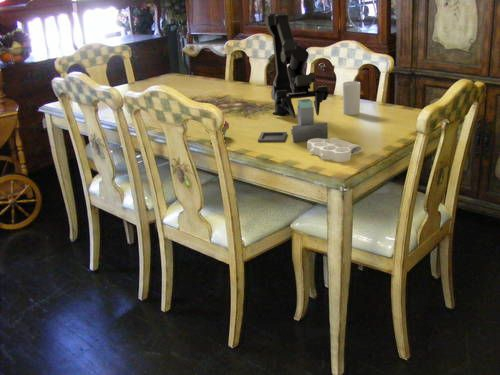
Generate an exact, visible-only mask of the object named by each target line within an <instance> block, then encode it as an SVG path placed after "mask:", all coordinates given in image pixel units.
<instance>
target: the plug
mask: <svg viewBox="0 0 500 375" xmlns="http://www.w3.org/2000/svg"><path fill="white" fill-rule="evenodd" d="M297 104H298V105H297V125H306V124H315V115H314V113H315V112H314V110H315V106H314V101H313V100H312V99H310V98H306V99H305V98H304V99H298V100H297Z"/></svg>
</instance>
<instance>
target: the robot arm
mask: <svg viewBox="0 0 500 375" xmlns="http://www.w3.org/2000/svg"><path fill="white" fill-rule="evenodd" d="M264 19H265V26H266V27H267V31H268V33H269V34H270V35H271V37H272V42H273V43H272V44H273V45H272V46H273V54H274V63H275V73H276V75H275V76H274V79H273V82H272V84H273V85H272V86H271V87H272V88H271V91H270V96H271V99H272V100H273V101H274V111H273V112H272V114H273V115H277V116H282V117H285V116H288V115H290V116H292V118H293V119H297V118H296V117H297V116H296V111H295V108H294V104H293V101H292V99H303V98H304V99H305V98H306V99H307V98H314V100H313V107H314V110H315V114H316V116H319V115H320V107H321V103H323V101H326V100H327V99H328V97H329V94H330V88H329V87H328V86H327V85H319V86H316V88H315V90H310V89H311V85H312V83H315V82H317V76H316V74H315V71H313V72H309V73H308V74H306V73H305V69H306V66H307V64H308V60H309V57H310V54H309V51H307V50H306V49H305V48H303V47H302V45H300V44H299V43H298V42H296V41H295V38H294V35H293V31H292V28H291V26H290V15H289V14H286V13H285V12H284V11H282V12H271V13H270V12H269V13H268V14H267V16H265V18H264Z"/></svg>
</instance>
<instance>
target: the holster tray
mask: <svg viewBox="0 0 500 375" xmlns="http://www.w3.org/2000/svg"><path fill="white" fill-rule="evenodd" d="M287 135H288V132H287V131H271V132H270V131H267V132H266V131H261V134H260V135H259V137H258V139H257V142H258V143H284V142H285V141H286V138H287Z"/></svg>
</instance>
